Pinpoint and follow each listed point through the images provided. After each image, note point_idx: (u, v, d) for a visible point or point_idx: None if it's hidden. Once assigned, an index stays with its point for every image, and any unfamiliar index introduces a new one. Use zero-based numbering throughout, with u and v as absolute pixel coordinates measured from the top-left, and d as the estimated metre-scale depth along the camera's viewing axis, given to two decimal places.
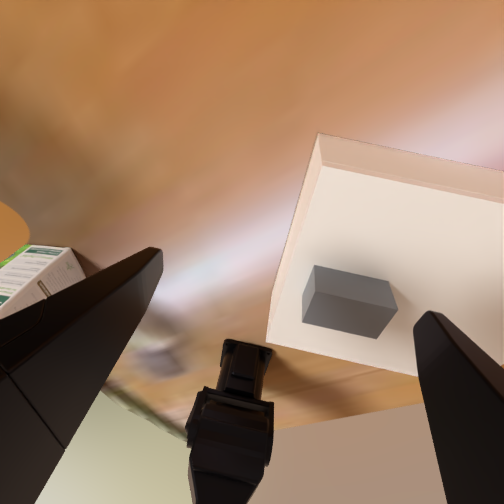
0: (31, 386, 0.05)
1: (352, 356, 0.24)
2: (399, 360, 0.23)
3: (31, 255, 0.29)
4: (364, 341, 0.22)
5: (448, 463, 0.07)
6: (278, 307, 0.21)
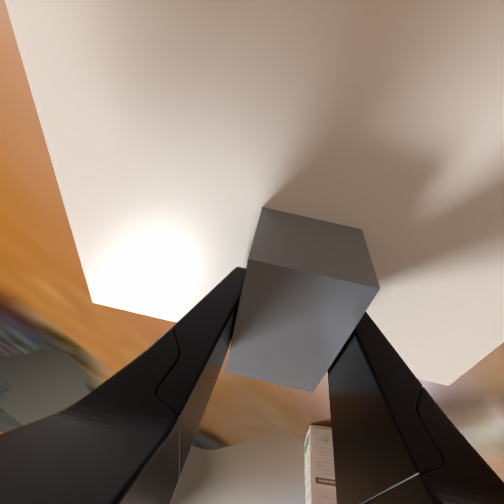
0: (183, 423, 0.05)
1: None
2: None
3: (305, 454, 0.32)
4: None
5: (337, 436, 0.07)
6: None
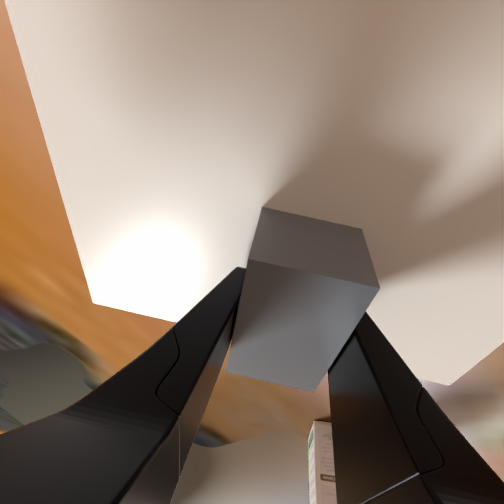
0: (183, 423, 0.05)
1: None
2: None
3: (309, 451, 0.31)
4: None
5: (337, 436, 0.07)
6: None
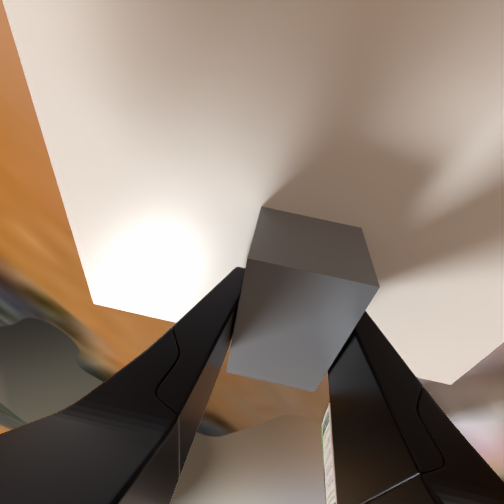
0: (183, 423, 0.05)
1: None
2: None
3: (324, 436, 0.28)
4: None
5: (337, 436, 0.07)
6: None
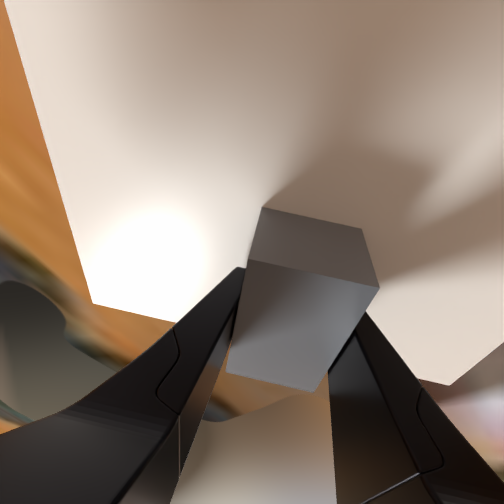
0: (183, 423, 0.05)
1: None
2: None
3: None
4: None
5: (337, 436, 0.07)
6: None
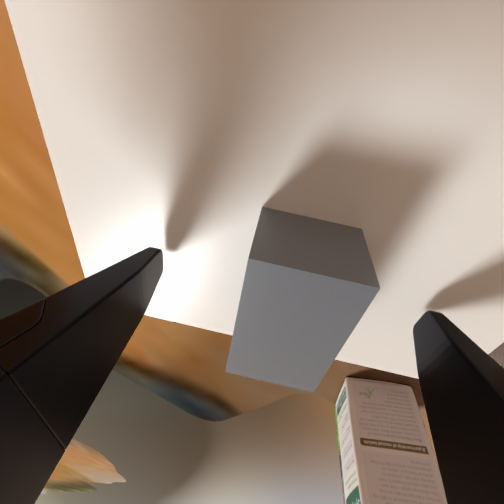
0: (32, 386, 0.05)
1: None
2: None
3: (339, 415, 0.25)
4: None
5: (448, 463, 0.07)
6: (343, 359, 0.12)
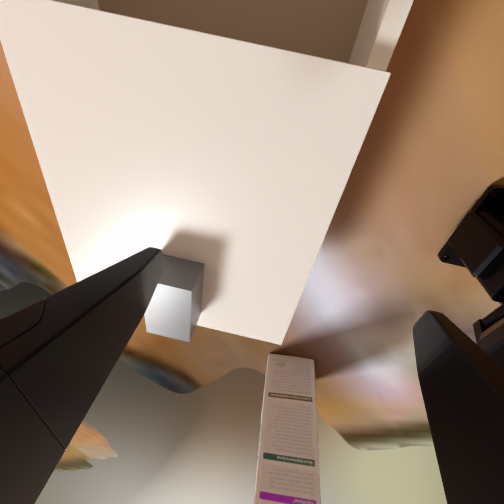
0: (31, 386, 0.05)
1: (297, 272, 0.17)
2: (299, 218, 0.15)
3: None
4: (261, 263, 0.17)
5: (448, 463, 0.07)
6: (222, 330, 0.21)
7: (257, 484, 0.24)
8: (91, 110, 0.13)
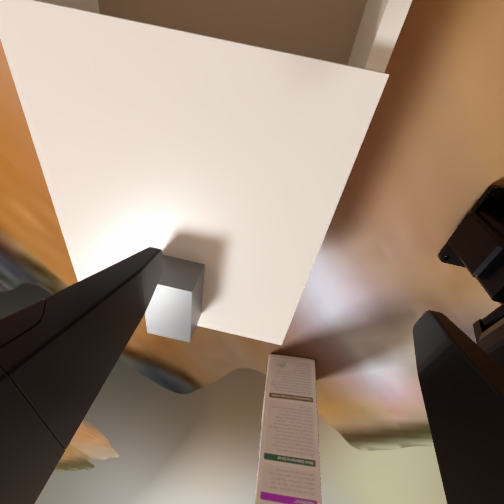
0: (31, 386, 0.05)
1: (297, 273, 0.17)
2: (299, 219, 0.15)
3: None
4: (261, 263, 0.17)
5: (448, 463, 0.07)
6: (223, 330, 0.21)
7: (258, 484, 0.24)
8: (92, 112, 0.13)
